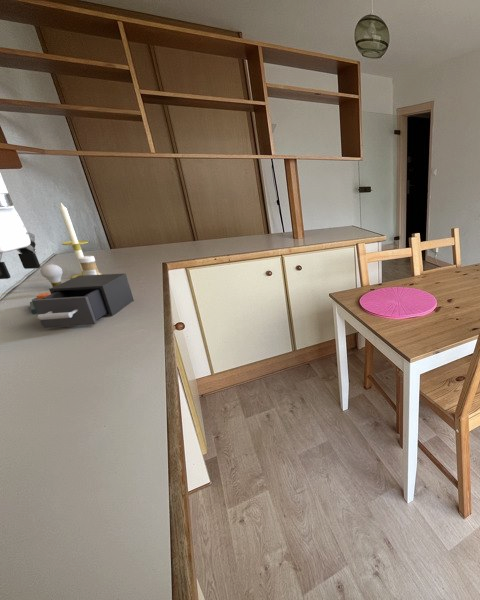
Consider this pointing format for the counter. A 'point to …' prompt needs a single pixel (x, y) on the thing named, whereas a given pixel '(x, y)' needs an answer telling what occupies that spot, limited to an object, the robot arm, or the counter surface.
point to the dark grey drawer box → (102, 289)
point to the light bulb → (52, 273)
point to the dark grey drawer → (71, 308)
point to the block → (33, 307)
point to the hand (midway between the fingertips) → (18, 273)
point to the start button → (42, 295)
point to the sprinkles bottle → (88, 265)
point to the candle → (72, 237)
